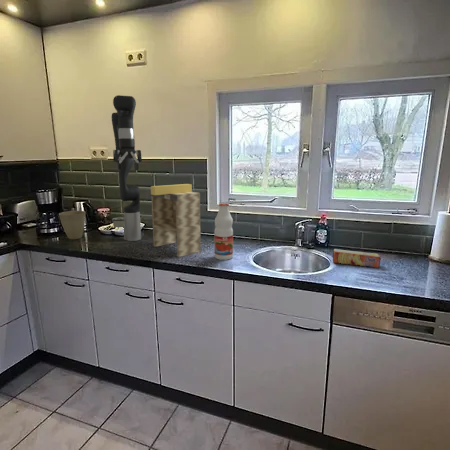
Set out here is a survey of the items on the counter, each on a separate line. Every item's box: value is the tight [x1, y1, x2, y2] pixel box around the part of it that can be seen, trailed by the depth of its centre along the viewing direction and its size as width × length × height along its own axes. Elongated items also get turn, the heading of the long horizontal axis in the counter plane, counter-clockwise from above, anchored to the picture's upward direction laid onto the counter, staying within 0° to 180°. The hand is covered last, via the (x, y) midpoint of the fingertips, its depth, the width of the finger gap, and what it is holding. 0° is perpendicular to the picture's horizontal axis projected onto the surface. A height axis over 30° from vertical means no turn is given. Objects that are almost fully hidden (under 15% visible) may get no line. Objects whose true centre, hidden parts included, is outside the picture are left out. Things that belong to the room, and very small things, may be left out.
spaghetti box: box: [150, 183, 193, 195], centre depth 162 cm, size 22×4×4 cm, turn 132°
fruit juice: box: [213, 202, 234, 261], centre depth 160 cm, size 9×9×28 cm
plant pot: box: [58, 210, 86, 240], centre depth 196 cm, size 15×15×16 cm
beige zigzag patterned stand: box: [149, 189, 202, 257], centre depth 173 cm, size 15×26×32 cm, turn 42°
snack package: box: [332, 248, 382, 268], centre depth 153 cm, size 21×7×7 cm, turn 71°
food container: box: [111, 216, 125, 228], centre depth 211 cm, size 12×6×10 cm, turn 84°
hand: (128, 170), depth 162 cm, fingers open, 8 cm apart
